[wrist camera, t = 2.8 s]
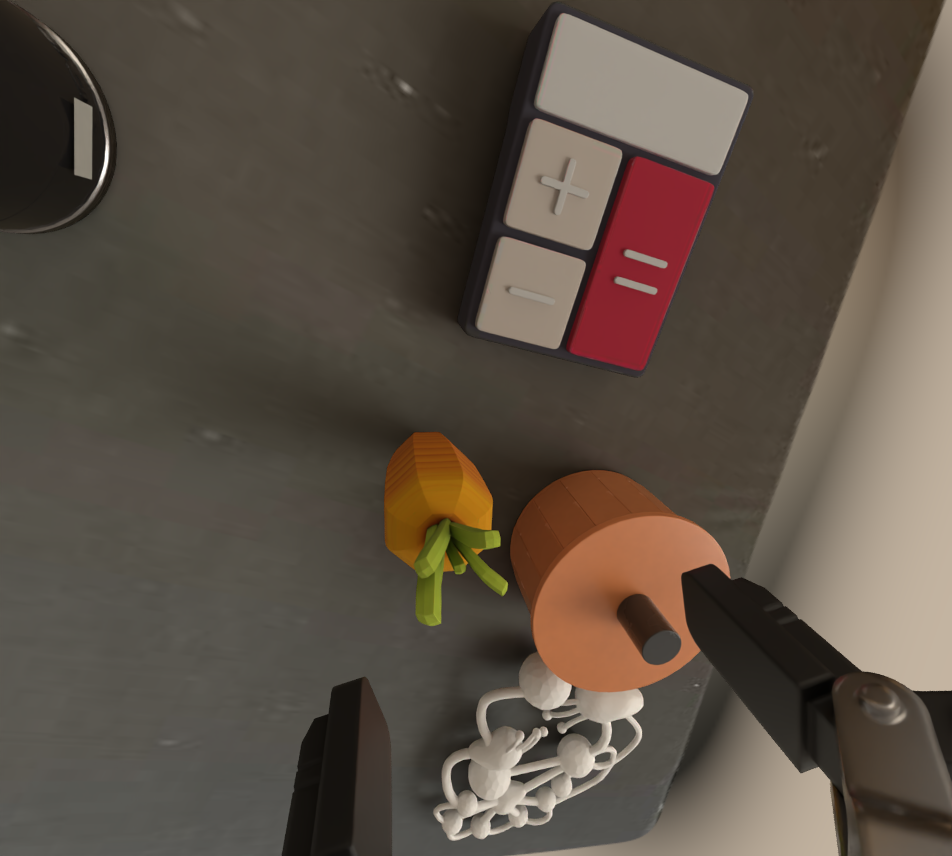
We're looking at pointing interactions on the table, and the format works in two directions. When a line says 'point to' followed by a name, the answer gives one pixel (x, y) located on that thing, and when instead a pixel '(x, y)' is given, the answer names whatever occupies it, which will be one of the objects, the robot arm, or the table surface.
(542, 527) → the pot
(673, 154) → the calculator
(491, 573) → the carrot
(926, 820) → the robot arm
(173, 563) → the table surface
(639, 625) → the pot lid
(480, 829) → the tangled rod sculpture
